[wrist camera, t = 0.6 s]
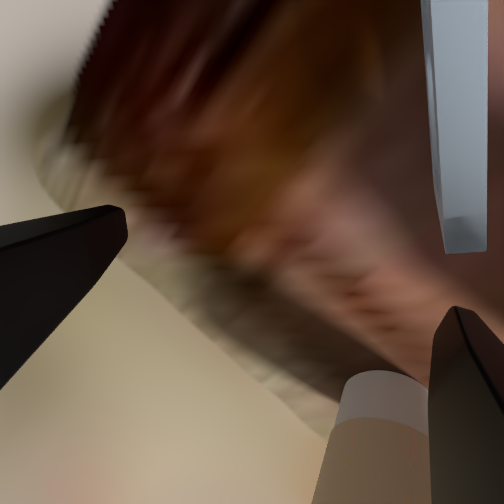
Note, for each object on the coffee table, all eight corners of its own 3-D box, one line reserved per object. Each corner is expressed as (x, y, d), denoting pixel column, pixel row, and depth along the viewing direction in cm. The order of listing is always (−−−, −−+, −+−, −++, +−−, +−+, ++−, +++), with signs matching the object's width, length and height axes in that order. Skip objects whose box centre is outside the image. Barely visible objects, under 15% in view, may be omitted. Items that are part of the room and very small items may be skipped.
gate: (413, -108, 12) (420, -183, 7) (454, -129, 11) (488, -223, 7) (433, 188, 17) (445, 254, 12) (462, 184, 16) (486, 251, 12)
